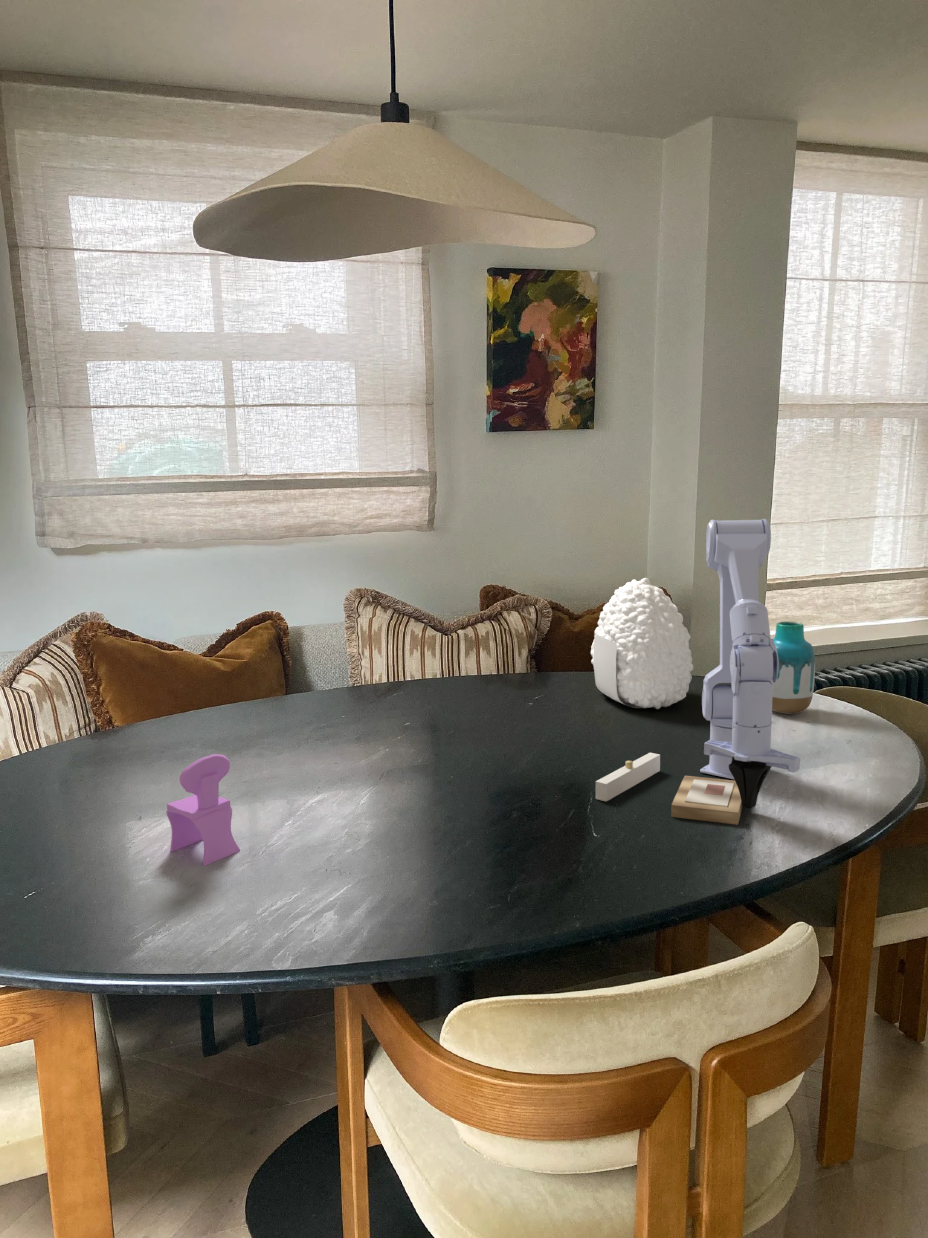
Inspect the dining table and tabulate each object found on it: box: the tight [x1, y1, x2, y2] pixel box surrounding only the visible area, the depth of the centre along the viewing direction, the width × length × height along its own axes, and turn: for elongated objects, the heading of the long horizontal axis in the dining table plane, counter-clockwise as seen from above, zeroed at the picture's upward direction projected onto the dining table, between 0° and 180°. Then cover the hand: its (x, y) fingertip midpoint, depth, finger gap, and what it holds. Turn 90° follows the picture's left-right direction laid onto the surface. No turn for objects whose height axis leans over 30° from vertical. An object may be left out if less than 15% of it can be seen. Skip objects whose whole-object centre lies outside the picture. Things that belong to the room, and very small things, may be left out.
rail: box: [595, 752, 661, 802], centre depth 160 cm, size 18×2×4 cm, turn 140°
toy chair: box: [165, 753, 241, 867], centre depth 137 cm, size 8×9×15 cm
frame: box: [670, 775, 743, 825], centre depth 151 cm, size 14×10×3 cm
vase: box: [771, 620, 816, 715], centre depth 198 cm, size 11×11×19 cm
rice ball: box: [590, 577, 694, 710], centre depth 210 cm, size 28×19×28 cm
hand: (749, 806), depth 147 cm, fingers closed
